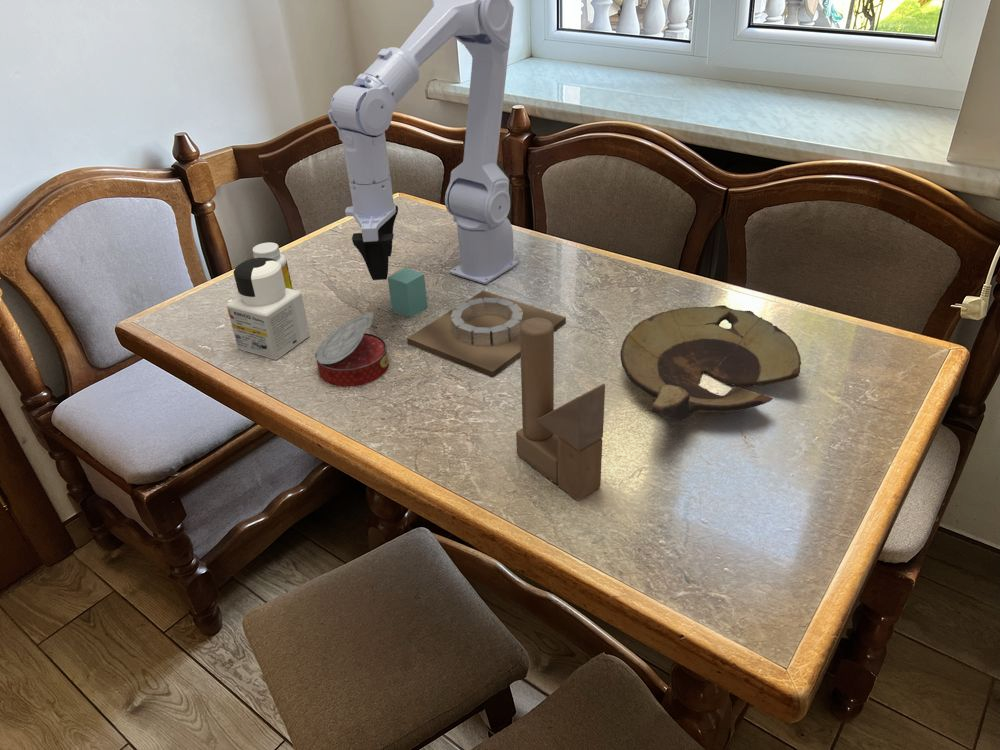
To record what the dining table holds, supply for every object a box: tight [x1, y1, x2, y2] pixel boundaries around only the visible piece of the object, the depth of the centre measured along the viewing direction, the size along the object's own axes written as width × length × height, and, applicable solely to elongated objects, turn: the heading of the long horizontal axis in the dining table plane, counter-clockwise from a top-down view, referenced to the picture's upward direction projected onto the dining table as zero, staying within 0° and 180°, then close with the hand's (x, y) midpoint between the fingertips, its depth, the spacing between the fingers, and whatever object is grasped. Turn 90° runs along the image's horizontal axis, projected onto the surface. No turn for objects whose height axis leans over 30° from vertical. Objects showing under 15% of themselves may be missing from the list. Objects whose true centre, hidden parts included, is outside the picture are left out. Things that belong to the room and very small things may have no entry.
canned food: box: [314, 311, 390, 388], centre depth 107 cm, size 11×10×10 cm
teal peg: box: [387, 267, 428, 319], centre depth 121 cm, size 4×4×6 cm
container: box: [226, 257, 311, 361], centre depth 112 cm, size 8×8×13 cm
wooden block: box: [515, 318, 606, 501], centre depth 84 cm, size 4×11×18 cm, turn 39°
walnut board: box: [406, 289, 567, 379], centre depth 115 cm, size 18×16×1 cm
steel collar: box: [450, 298, 523, 346], centre depth 114 cm, size 10×10×2 cm
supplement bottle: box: [252, 242, 294, 290], centre depth 123 cm, size 6×6×10 cm
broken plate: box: [620, 304, 802, 422], centre depth 100 cm, size 22×30×8 cm
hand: (382, 267), depth 114 cm, fingers open, 7 cm apart
